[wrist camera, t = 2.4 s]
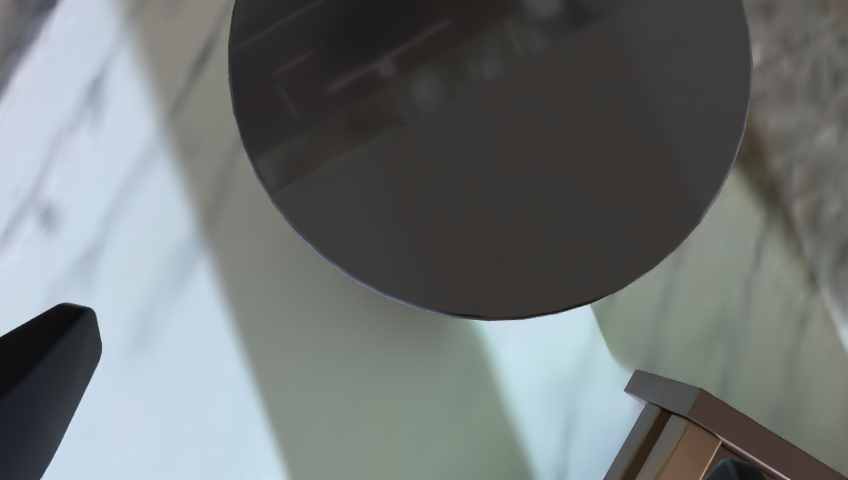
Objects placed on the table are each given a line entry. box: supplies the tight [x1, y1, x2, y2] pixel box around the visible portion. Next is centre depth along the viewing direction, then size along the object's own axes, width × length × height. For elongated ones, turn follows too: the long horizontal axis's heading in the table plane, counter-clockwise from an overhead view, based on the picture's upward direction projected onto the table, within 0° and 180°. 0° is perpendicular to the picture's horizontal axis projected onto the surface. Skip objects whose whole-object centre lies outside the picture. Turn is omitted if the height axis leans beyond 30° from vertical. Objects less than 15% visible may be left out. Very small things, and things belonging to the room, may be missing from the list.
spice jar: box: [228, 0, 753, 321], centre depth 14 cm, size 6×6×13 cm
